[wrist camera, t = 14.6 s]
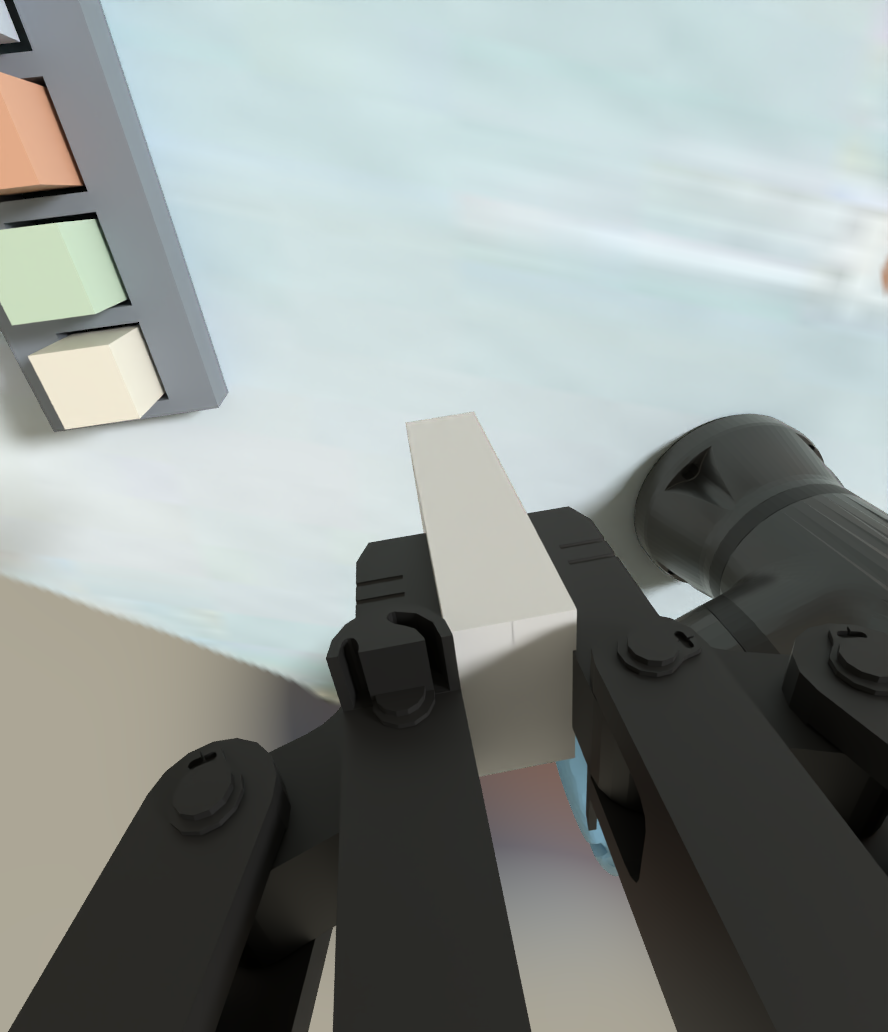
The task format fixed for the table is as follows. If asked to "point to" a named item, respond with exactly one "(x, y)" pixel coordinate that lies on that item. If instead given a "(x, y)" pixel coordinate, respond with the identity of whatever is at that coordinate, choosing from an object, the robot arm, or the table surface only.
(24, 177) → the key terracotta
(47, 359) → the key ivory
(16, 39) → the key bluegrey
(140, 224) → the key panel
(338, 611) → the table surface
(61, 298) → the key green
